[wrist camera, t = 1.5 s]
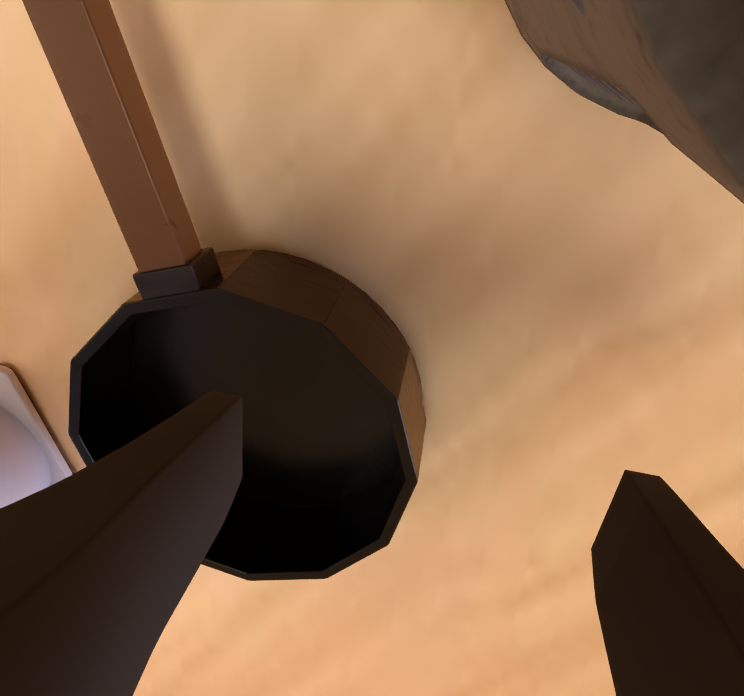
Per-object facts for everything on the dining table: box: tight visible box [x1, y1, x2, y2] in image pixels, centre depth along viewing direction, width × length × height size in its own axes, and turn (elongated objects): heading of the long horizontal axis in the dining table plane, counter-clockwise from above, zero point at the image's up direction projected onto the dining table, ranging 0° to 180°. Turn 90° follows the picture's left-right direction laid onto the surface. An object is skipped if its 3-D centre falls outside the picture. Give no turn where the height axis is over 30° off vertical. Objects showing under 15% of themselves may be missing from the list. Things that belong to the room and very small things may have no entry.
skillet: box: [22, 0, 426, 581], centre depth 20 cm, size 20×12×4 cm, turn 13°
